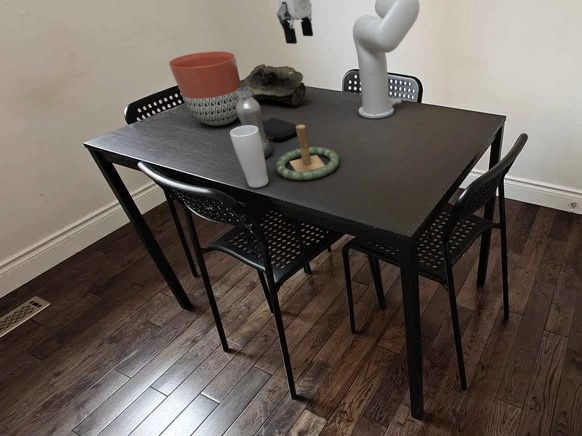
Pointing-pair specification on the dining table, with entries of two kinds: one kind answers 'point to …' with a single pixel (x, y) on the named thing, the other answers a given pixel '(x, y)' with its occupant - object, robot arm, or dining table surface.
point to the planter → (208, 85)
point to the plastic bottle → (251, 114)
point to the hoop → (307, 174)
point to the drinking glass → (250, 154)
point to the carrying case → (279, 129)
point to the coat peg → (305, 154)
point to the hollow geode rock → (276, 84)
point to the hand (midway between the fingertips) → (300, 39)
